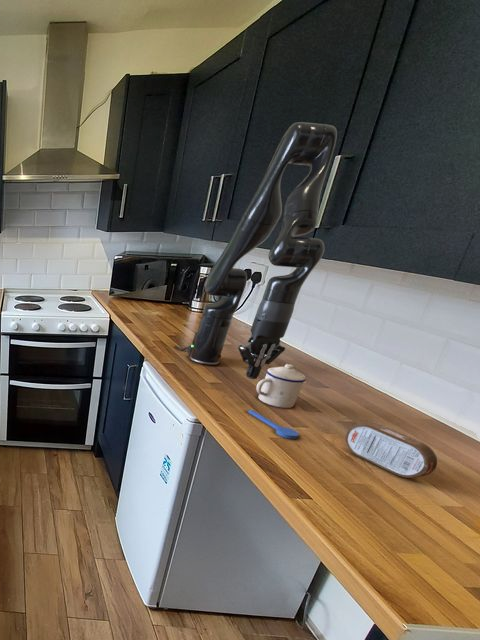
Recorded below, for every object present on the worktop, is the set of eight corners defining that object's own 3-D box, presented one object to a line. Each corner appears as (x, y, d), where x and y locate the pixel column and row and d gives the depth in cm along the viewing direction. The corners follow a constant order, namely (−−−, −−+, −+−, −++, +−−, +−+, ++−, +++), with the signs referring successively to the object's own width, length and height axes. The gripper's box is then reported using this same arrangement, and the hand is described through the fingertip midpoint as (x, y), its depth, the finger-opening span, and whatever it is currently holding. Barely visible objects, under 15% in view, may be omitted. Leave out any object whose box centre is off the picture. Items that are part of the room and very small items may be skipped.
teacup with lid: (277, 394, 122) (291, 359, 117) (302, 408, 114) (318, 370, 109) (240, 395, 121) (253, 359, 116) (263, 409, 112) (278, 371, 108)
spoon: (242, 412, 110) (243, 409, 110) (256, 412, 111) (257, 408, 110) (286, 439, 97) (287, 436, 97) (301, 438, 98) (303, 435, 98)
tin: (426, 484, 83) (447, 450, 79) (416, 487, 82) (437, 452, 79) (345, 445, 96) (361, 414, 92) (336, 447, 95) (351, 416, 92)
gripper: (282, 314, 110) (260, 372, 117) (239, 314, 108) (220, 373, 115) (307, 321, 103) (282, 382, 110) (262, 321, 101) (240, 383, 108)
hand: (251, 377), depth 112 cm, fingers closed
